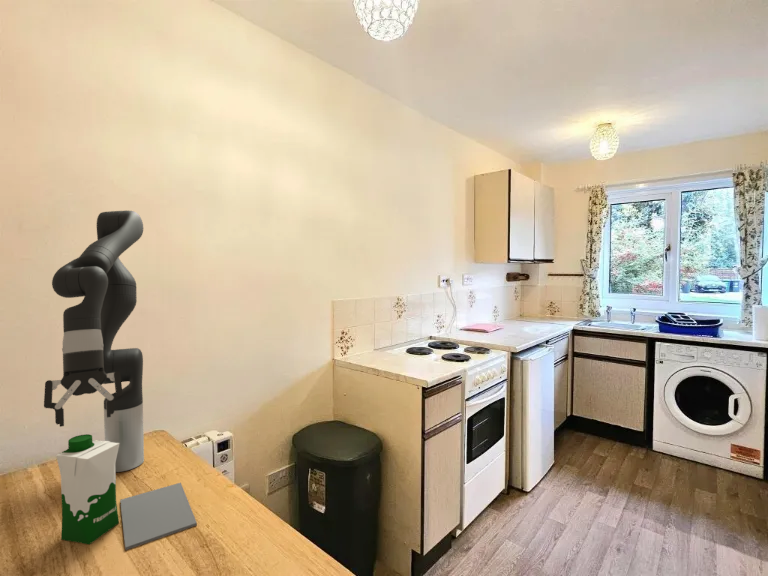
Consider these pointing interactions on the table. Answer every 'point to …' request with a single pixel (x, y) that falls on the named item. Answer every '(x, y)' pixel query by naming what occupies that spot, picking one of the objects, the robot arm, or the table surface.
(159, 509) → the mat
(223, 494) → the table surface
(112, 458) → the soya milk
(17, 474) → the table surface
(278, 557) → the table surface
